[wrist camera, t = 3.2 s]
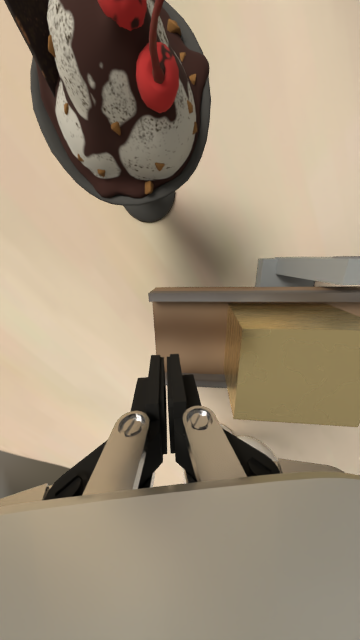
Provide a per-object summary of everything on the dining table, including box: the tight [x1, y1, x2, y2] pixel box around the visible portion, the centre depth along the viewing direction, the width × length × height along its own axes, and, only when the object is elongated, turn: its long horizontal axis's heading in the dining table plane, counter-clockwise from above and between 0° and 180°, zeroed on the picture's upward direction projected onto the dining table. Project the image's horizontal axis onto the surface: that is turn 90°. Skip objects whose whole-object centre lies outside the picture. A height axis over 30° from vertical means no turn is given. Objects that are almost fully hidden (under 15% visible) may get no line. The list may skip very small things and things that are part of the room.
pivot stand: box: [255, 256, 360, 287], centre depth 17 cm, size 12×6×8 cm, turn 1°
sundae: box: [4, 0, 211, 222], centre depth 9 cm, size 7×7×15 cm
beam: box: [148, 286, 360, 388], centre depth 16 cm, size 8×28×6 cm, turn 91°
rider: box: [224, 304, 360, 427], centre depth 12 cm, size 6×7×5 cm
